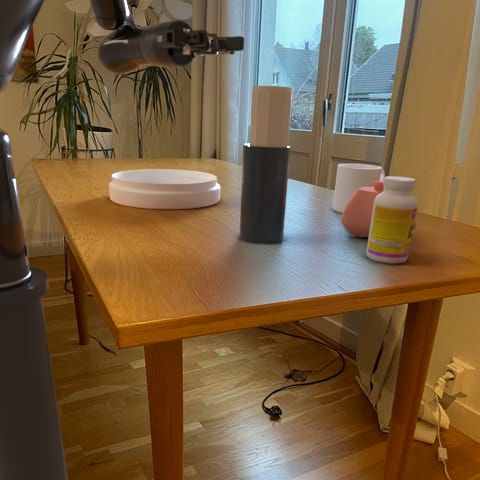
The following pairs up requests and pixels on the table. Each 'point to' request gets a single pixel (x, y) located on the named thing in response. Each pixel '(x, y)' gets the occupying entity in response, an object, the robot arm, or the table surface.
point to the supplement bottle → (392, 221)
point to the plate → (164, 189)
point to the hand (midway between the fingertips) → (224, 40)
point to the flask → (263, 193)
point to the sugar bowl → (362, 210)
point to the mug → (353, 182)
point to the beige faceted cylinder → (270, 116)
